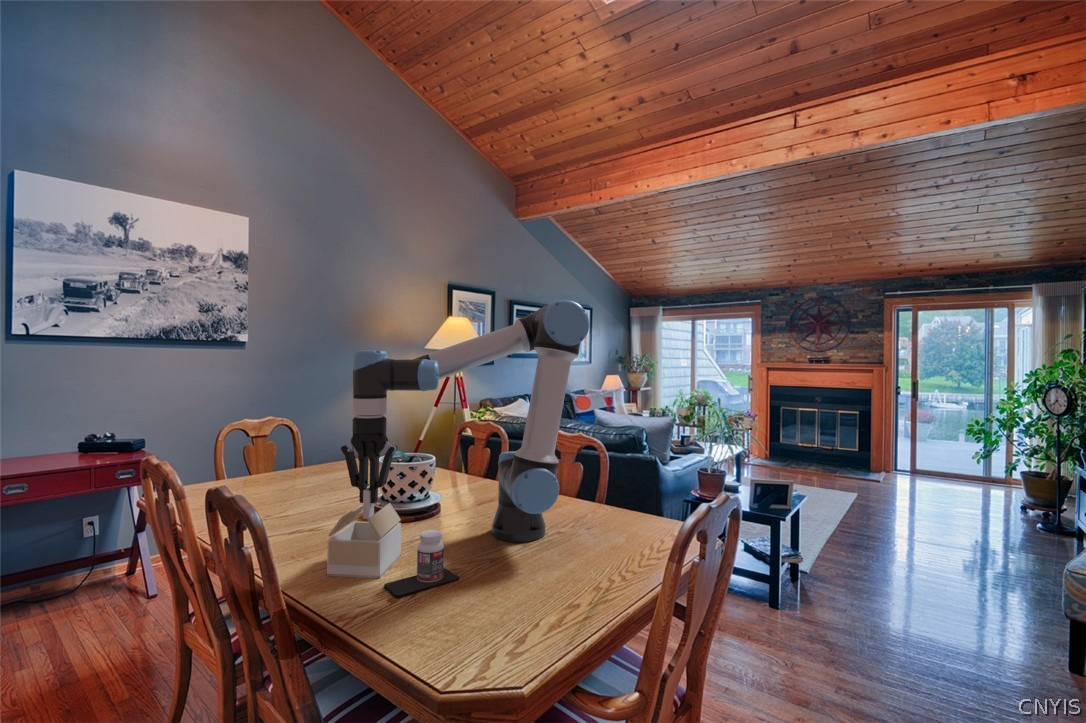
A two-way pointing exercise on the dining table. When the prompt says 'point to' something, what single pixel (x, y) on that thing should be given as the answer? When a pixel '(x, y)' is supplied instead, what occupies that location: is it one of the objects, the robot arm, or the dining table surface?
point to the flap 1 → (346, 519)
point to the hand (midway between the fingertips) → (368, 516)
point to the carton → (362, 551)
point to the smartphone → (417, 585)
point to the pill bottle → (430, 556)
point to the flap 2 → (384, 520)
